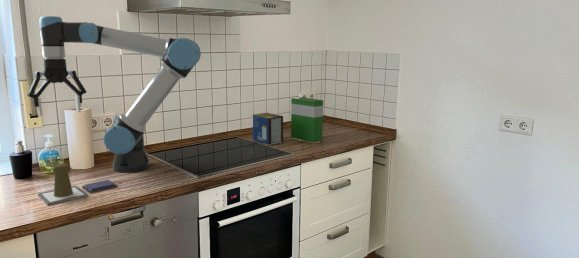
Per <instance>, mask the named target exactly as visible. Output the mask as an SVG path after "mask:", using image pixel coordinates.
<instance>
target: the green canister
mask: <svg viewBox="0 0 579 258" xmlns="http://www.w3.org/2000/svg"><path fill="white" fill-rule="evenodd" d="M290 101H291V102H290V103H291V110H290V111H291V113H290V116H291V118H290V121H291V122H290V130H291V131H290V138H291V137H292V138H297V139H301V140H305V141H310V142H317V141H321V140H322V141H323V127H324V125H323V124H324V122H323V121H324V100H323V99H316V98H309V97H308V98H307V97H302V96H299V98H294V97H293V98H292V97H291V100H290Z"/></svg>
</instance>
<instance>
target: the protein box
mask: <svg viewBox="0 0 579 258" xmlns="http://www.w3.org/2000/svg"><path fill="white" fill-rule="evenodd" d="M253 140H255V141H258V142H257V143H259V142H261V143H260V144H262V143H265V144H268V145H269V144H274V143H279V142H283V143H284V115H279V114H274V113H270V112H262V113H253V114H252V141H253ZM255 141H254V142H255ZM265 144H264V145H265ZM268 145H267V146H268ZM269 146H270V145H269Z"/></svg>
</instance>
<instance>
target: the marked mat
mask: <svg viewBox="0 0 579 258" xmlns="http://www.w3.org/2000/svg"><path fill="white" fill-rule="evenodd" d="M71 187H72V191H73V194H71V195H69V196H65V197H55V196H54V189H53V190H49V191H43V192H38V193H37V196H38V198H40V199H41V201H42V202H44V203H45V204H46V205H47V206H52V205H58V204H60V203H65V202H69V201H73V200H78V199H84V198H87V197H89V193H88V192H87V191H85V190H84V189H83V188H82V189H81V188H80V187H79V186H78V185H73V186H72V185H71Z"/></svg>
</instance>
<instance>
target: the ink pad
mask: <svg viewBox="0 0 579 258" xmlns="http://www.w3.org/2000/svg"><path fill="white" fill-rule="evenodd" d="M81 187H82V190H84V191H85V192H87V193H88V194H93V193H97V192H102V191H105V190H111V189H115V188H118V184H116V183H114V182H113V181H111V180H110V179H106V180H101V181H96V182H90V183H86V184H84V185H82V186H81Z"/></svg>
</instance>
